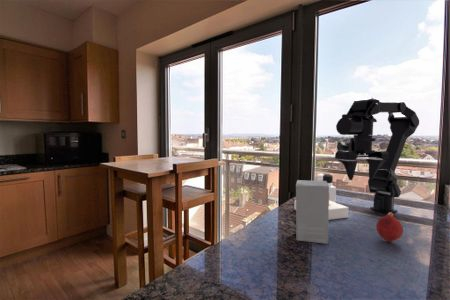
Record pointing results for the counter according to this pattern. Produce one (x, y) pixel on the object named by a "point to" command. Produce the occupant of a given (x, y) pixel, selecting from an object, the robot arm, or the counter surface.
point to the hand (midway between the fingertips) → (360, 179)
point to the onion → (389, 228)
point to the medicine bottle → (329, 181)
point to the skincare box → (312, 211)
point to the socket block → (334, 210)
